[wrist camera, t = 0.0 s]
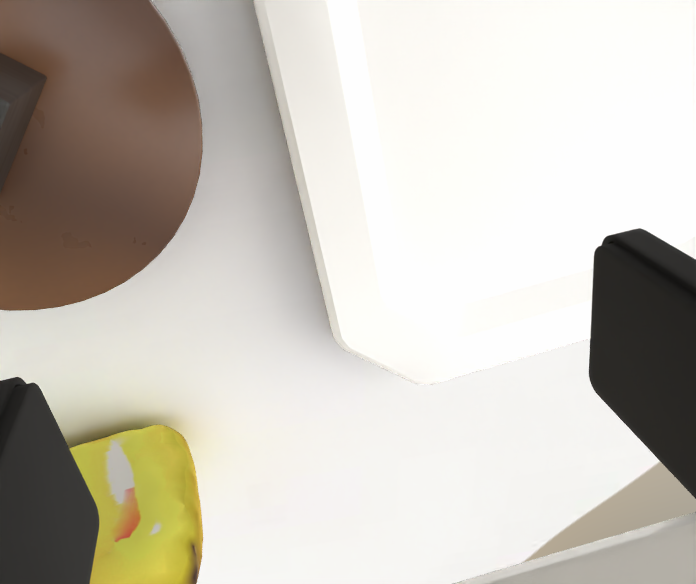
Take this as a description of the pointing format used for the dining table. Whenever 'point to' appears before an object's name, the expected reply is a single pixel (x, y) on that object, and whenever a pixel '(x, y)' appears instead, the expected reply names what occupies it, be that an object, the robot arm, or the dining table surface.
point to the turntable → (90, 146)
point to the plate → (480, 163)
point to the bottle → (143, 507)
